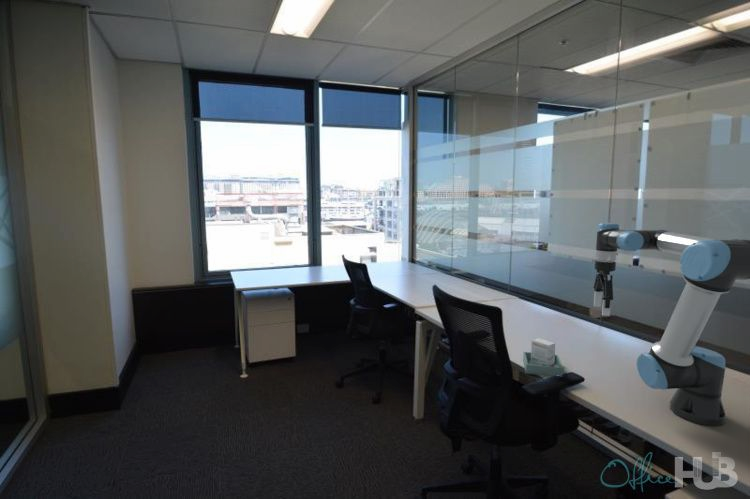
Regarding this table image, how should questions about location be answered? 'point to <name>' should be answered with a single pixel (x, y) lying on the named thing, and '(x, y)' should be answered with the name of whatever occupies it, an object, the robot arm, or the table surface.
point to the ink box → (542, 352)
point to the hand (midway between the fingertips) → (601, 310)
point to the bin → (542, 367)
